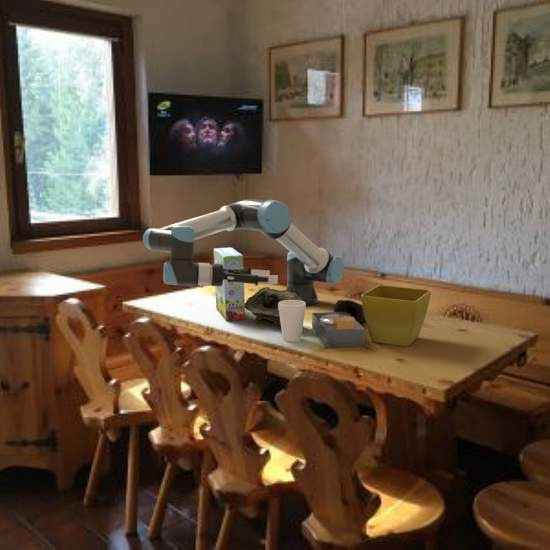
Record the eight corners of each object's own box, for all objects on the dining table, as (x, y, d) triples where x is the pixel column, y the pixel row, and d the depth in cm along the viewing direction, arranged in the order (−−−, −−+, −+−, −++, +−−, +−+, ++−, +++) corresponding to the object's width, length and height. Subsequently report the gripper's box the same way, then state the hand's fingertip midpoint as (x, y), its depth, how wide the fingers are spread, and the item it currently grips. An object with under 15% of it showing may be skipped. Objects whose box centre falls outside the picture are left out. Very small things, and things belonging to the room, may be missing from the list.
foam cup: (273, 340, 211) (272, 303, 209) (287, 334, 219) (287, 298, 217) (296, 345, 206) (296, 307, 204) (310, 338, 214) (310, 301, 211)
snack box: (214, 308, 257) (212, 247, 252) (234, 307, 260) (233, 246, 255) (224, 321, 237) (222, 255, 232) (246, 319, 239) (245, 254, 234)
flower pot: (414, 351, 199) (416, 301, 196) (358, 343, 208) (359, 294, 205) (429, 336, 215) (431, 289, 212) (378, 329, 224) (379, 284, 221)
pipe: (342, 295, 246) (326, 296, 234) (377, 302, 239) (363, 303, 226) (339, 319, 247) (323, 321, 234) (374, 326, 240) (359, 329, 227)
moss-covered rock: (300, 343, 224) (323, 311, 227) (280, 324, 216) (304, 290, 220) (257, 325, 246) (279, 295, 250) (238, 307, 239) (260, 276, 242)
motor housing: (312, 328, 226) (312, 305, 224) (346, 327, 227) (346, 303, 226) (326, 348, 202) (326, 322, 201) (364, 346, 204) (365, 320, 202)
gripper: (206, 280, 216) (265, 282, 221) (214, 291, 192) (280, 293, 196) (207, 259, 215) (266, 262, 220) (215, 267, 191) (282, 270, 196)
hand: (273, 276), depth 208 cm, fingers open, 13 cm apart
